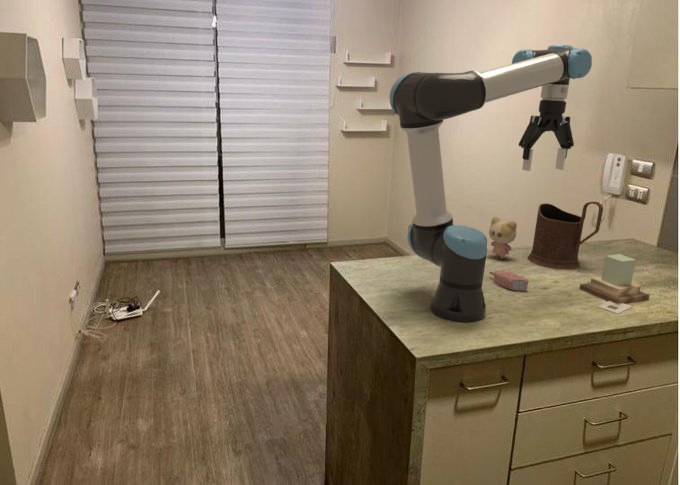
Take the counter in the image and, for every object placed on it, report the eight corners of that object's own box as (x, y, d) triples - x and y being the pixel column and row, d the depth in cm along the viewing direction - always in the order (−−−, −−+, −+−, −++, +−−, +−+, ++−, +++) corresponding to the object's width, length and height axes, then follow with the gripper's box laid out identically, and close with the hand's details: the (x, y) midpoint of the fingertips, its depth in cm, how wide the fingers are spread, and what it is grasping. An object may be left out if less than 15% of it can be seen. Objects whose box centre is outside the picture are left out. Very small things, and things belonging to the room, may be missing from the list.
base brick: (616, 305, 161) (619, 292, 160) (579, 288, 174) (581, 276, 172) (648, 299, 167) (651, 287, 166) (610, 283, 179) (612, 272, 178)
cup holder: (547, 251, 213) (557, 188, 206) (604, 269, 194) (617, 201, 187) (516, 257, 203) (525, 192, 196) (574, 277, 184) (587, 206, 177)
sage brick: (617, 286, 165) (622, 261, 163) (601, 279, 171) (605, 255, 168) (631, 284, 168) (636, 259, 166) (614, 277, 173) (619, 254, 171)
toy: (481, 256, 202) (486, 217, 198) (494, 252, 208) (499, 214, 204) (504, 263, 195) (509, 223, 191) (517, 259, 201) (522, 220, 196)
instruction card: (618, 314, 155) (618, 312, 155) (597, 307, 159) (597, 305, 159) (631, 307, 160) (632, 305, 160) (611, 300, 165) (611, 299, 165)
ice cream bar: (498, 265, 181) (533, 279, 169) (496, 277, 182) (531, 291, 170) (484, 267, 178) (519, 281, 166) (482, 279, 179) (517, 294, 167)
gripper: (530, 99, 155) (520, 172, 161) (593, 101, 165) (581, 170, 171) (512, 98, 161) (503, 168, 167) (574, 100, 171) (563, 166, 177)
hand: (542, 169), depth 169 cm, fingers open, 13 cm apart
